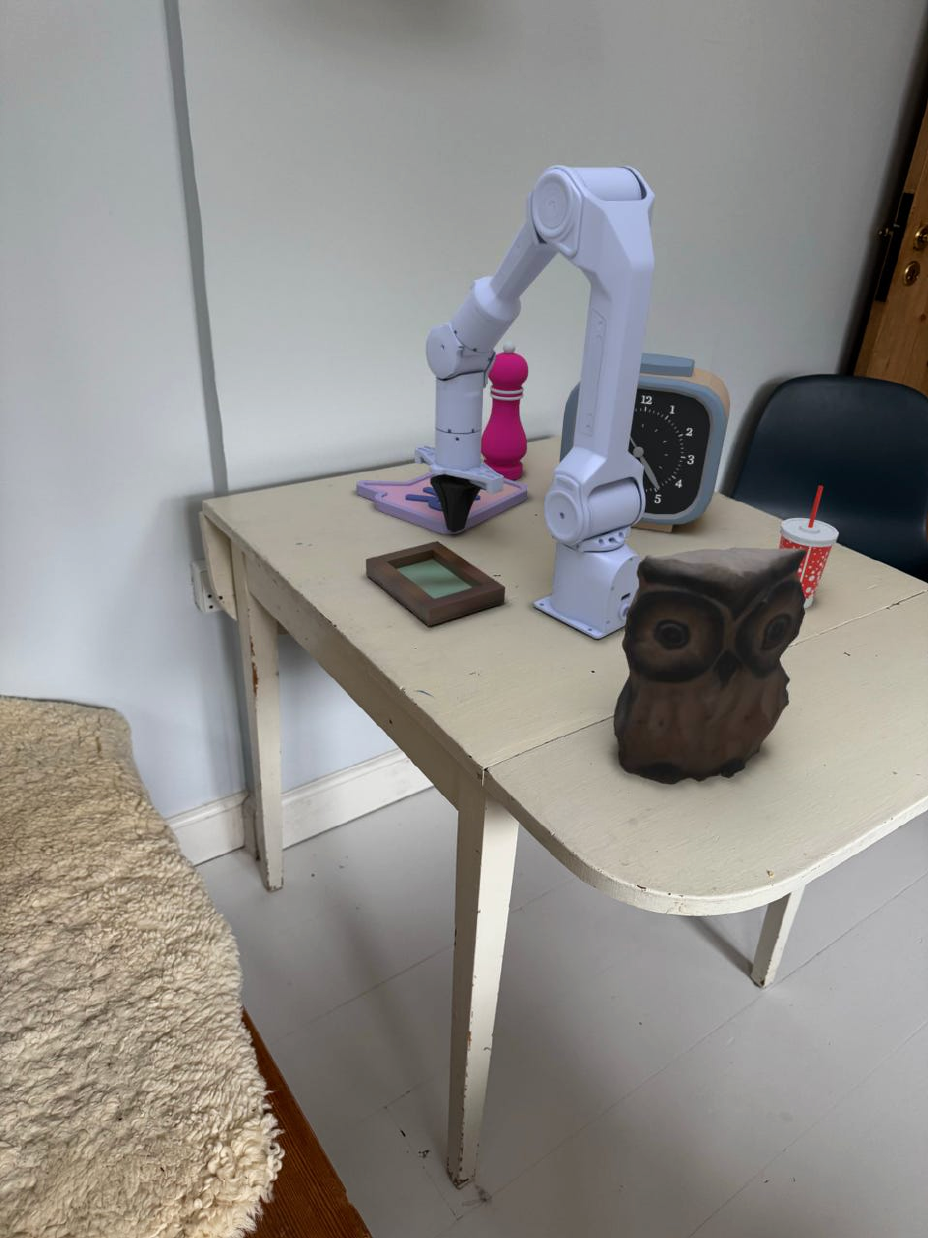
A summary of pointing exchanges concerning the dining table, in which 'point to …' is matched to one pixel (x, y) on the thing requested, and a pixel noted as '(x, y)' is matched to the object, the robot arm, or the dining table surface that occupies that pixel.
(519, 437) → the pepper mill
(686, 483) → the alarm clock
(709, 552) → the owl
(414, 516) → the icon
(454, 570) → the frame
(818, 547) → the beverage cup
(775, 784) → the dining table surface
